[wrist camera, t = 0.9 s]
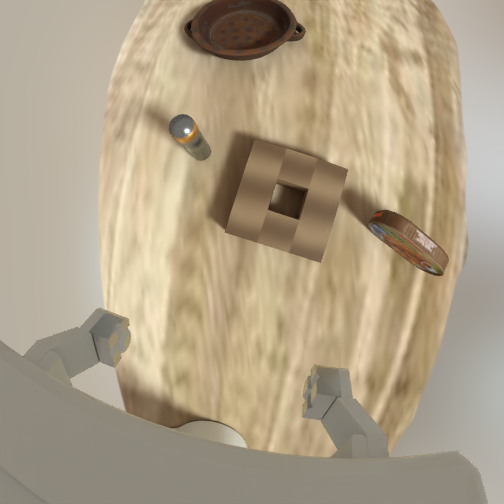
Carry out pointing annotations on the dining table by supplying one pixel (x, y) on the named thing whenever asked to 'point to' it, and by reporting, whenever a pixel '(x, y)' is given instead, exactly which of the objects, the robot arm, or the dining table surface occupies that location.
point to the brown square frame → (296, 177)
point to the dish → (243, 28)
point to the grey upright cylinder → (189, 136)
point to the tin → (409, 241)
